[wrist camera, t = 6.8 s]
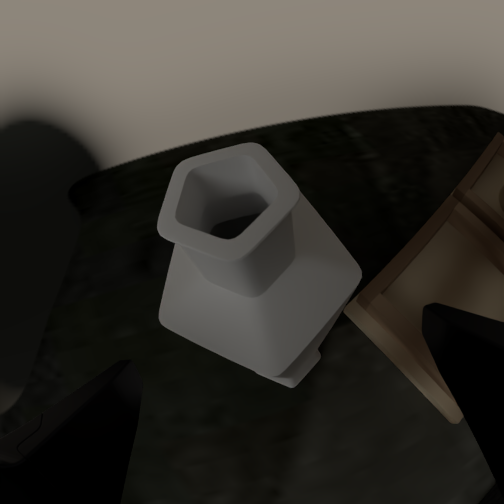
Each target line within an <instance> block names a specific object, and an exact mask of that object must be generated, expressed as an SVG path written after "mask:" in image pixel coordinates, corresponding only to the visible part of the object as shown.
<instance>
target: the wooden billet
mask: <svg viewBox="0 0 504 504" xmlns="http://www.w3.org/2000/svg"><path fill="white" fill-rule="evenodd" d="M499 202H500V206H501V208H502V210H503V212H504V185H503V187H502V188H501V190H500V192H499Z"/></svg>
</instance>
